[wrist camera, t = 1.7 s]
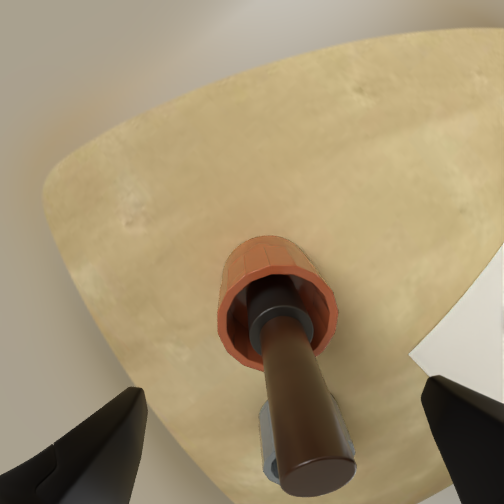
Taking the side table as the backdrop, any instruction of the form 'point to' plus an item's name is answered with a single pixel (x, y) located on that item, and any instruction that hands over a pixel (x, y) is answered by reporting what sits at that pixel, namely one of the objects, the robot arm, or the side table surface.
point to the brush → (296, 392)
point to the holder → (261, 265)
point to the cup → (268, 441)
